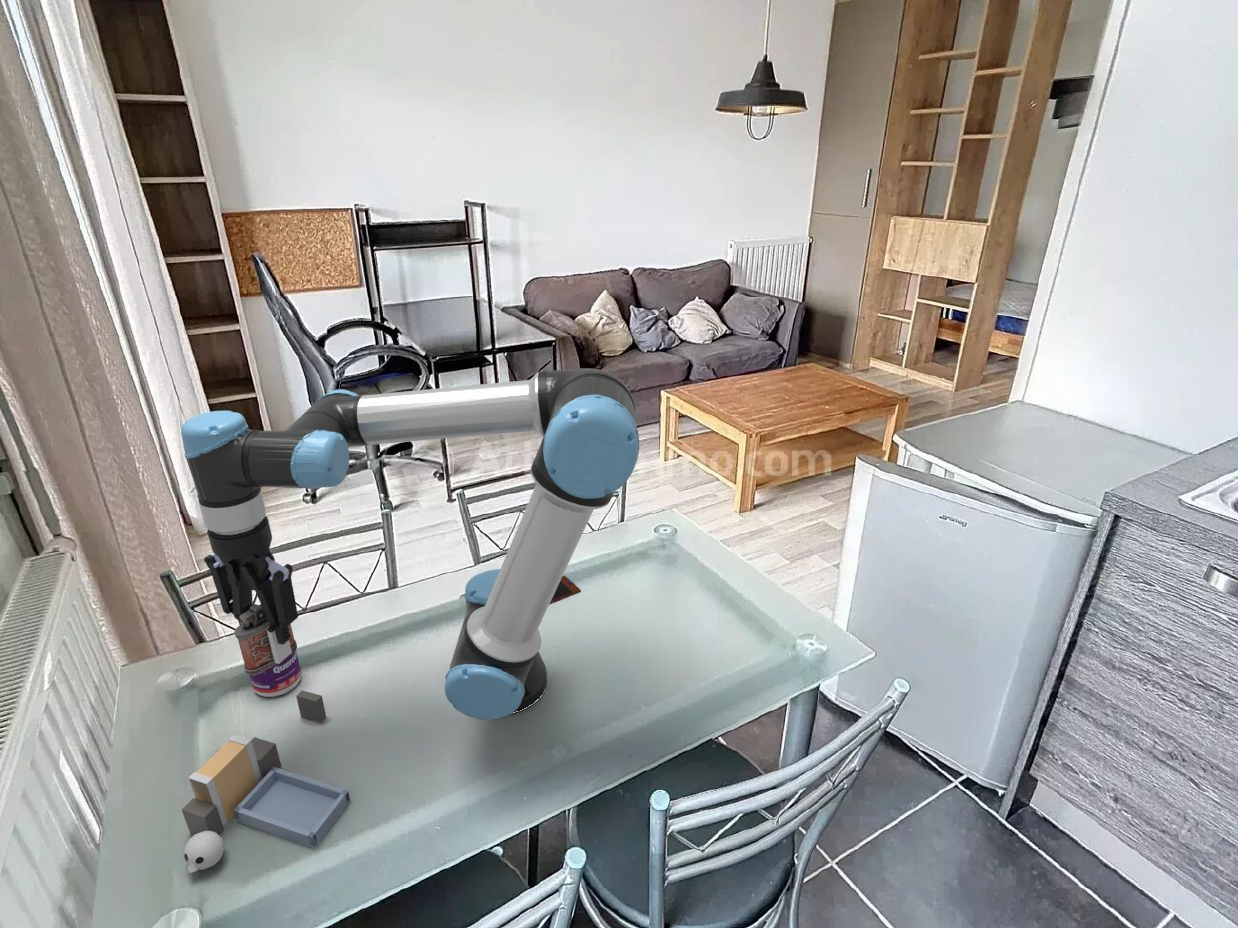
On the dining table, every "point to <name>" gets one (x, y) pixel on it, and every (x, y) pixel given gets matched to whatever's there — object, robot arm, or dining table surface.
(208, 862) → the figurine
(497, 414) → the robot arm
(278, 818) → the tray
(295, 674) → the pill bottle
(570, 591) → the smartphone
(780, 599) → the dining table surface
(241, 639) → the lighter
